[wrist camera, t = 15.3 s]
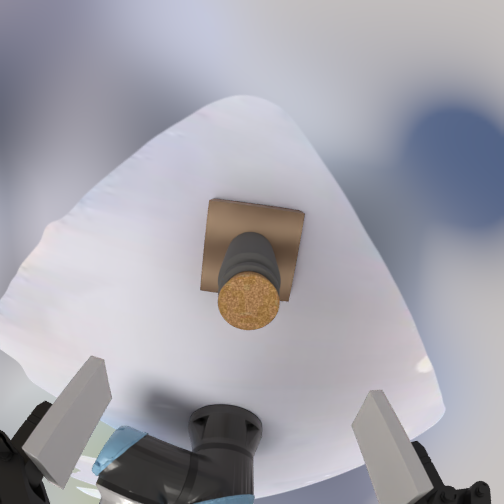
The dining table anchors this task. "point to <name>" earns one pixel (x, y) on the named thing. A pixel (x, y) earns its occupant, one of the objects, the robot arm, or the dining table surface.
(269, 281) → the bottle
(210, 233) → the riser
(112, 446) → the robot arm
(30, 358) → the dining table surface
